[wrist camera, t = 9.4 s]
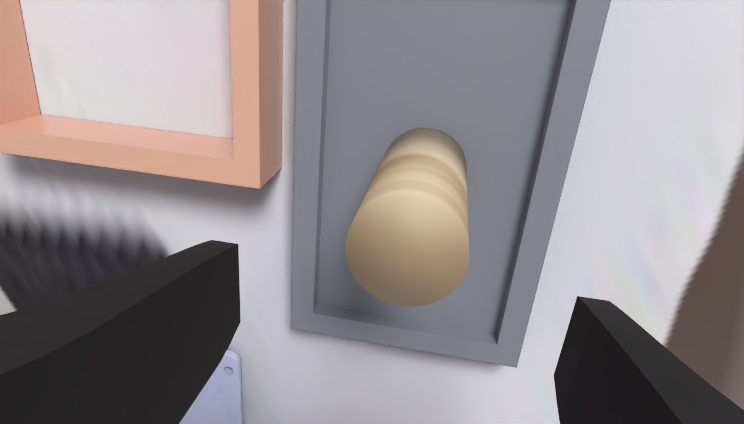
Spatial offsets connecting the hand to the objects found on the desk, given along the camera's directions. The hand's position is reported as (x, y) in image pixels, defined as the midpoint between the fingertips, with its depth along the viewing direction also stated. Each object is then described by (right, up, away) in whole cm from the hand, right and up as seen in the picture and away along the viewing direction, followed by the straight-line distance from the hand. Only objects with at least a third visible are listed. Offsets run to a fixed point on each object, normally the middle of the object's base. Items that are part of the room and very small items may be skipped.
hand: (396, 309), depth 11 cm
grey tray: (+2, +4, +9) cm, 10 cm away
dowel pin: (+1, +4, +9) cm, 9 cm away
